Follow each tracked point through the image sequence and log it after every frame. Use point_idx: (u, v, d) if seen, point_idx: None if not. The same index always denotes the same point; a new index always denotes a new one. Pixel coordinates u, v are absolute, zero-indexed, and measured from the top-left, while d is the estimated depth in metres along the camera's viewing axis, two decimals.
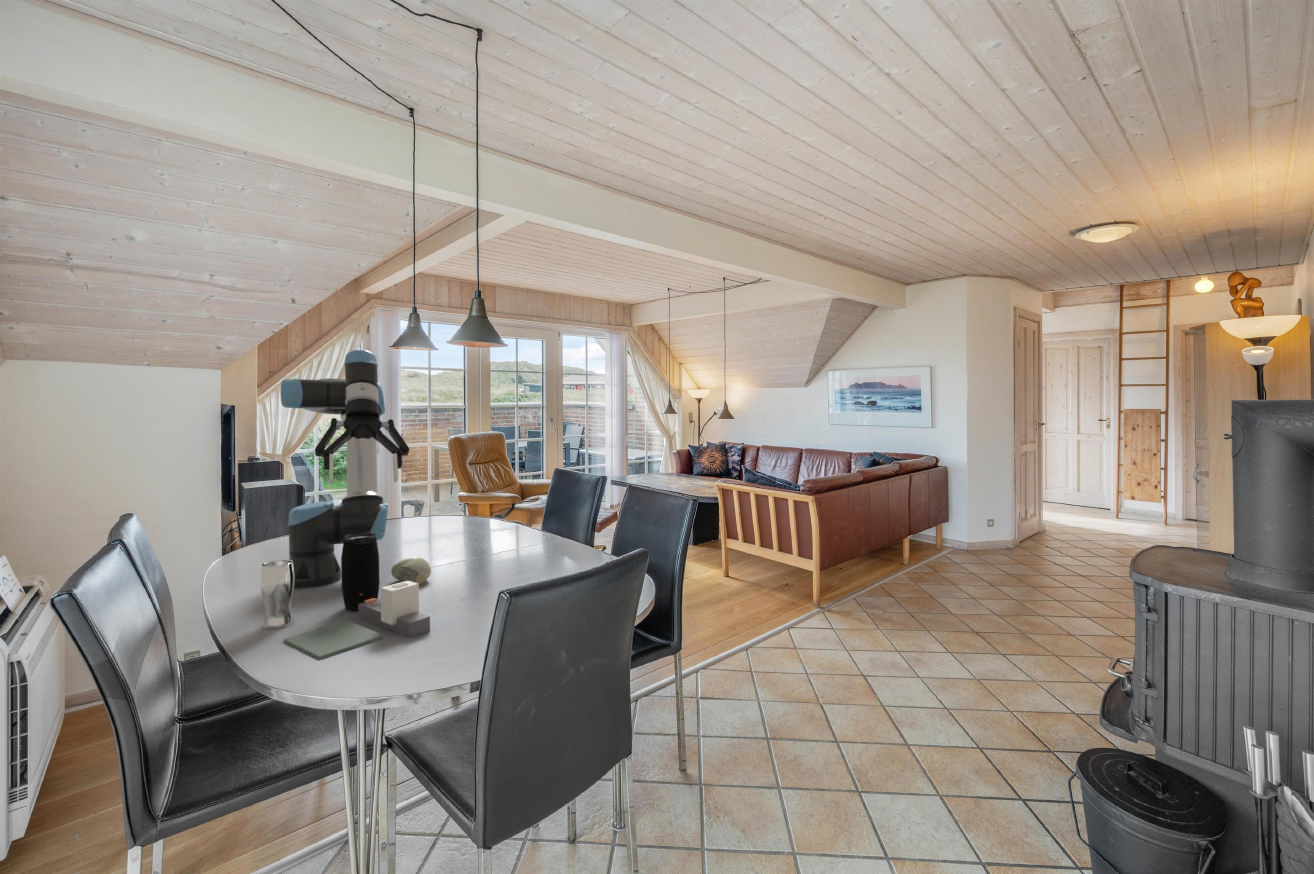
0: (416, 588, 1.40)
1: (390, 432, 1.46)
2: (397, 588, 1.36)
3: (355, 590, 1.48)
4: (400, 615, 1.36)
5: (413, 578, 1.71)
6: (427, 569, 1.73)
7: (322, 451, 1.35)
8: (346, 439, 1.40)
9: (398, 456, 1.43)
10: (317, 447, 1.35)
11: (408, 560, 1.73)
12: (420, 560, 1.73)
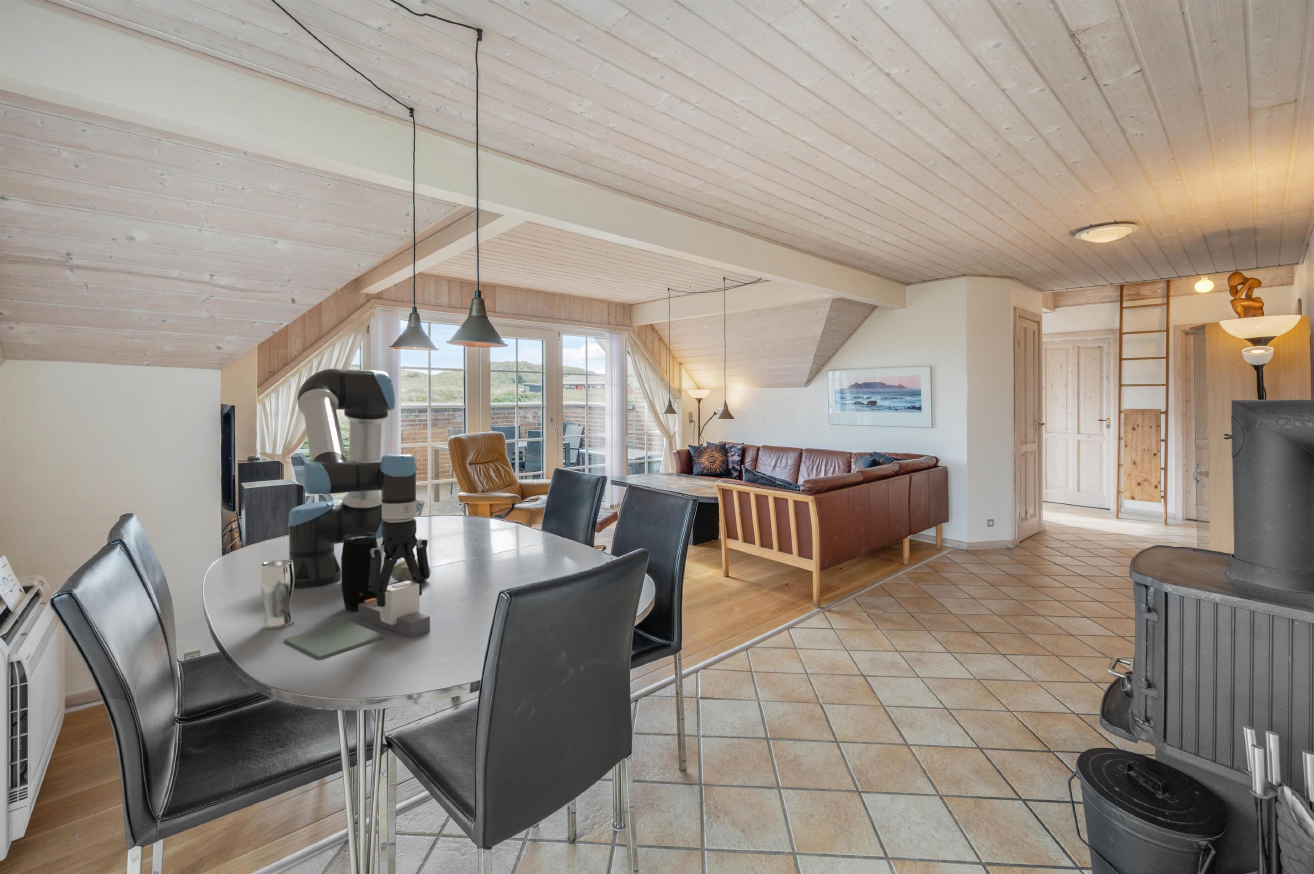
0: (416, 588, 1.40)
1: (419, 551, 1.42)
2: (397, 588, 1.36)
3: (355, 590, 1.48)
4: (400, 615, 1.36)
5: None
6: None
7: (378, 589, 1.33)
8: None
9: None
10: (375, 588, 1.32)
11: None
12: None
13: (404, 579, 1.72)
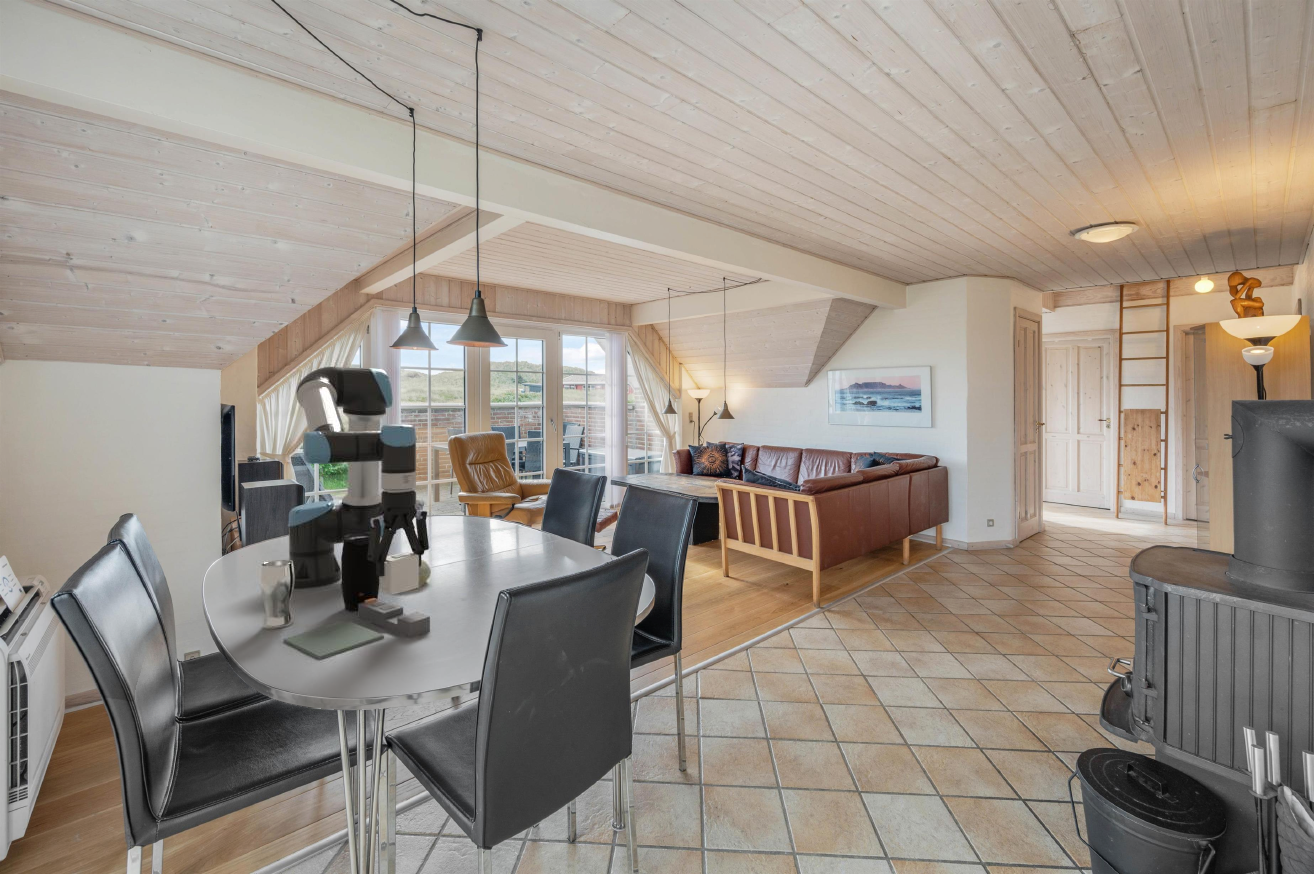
0: (416, 559, 1.40)
1: (418, 523, 1.42)
2: (396, 558, 1.36)
3: (355, 589, 1.48)
4: (399, 585, 1.36)
5: None
6: (427, 570, 1.72)
7: (378, 559, 1.33)
8: None
9: (418, 556, 1.42)
10: (374, 557, 1.32)
11: None
12: None
13: None
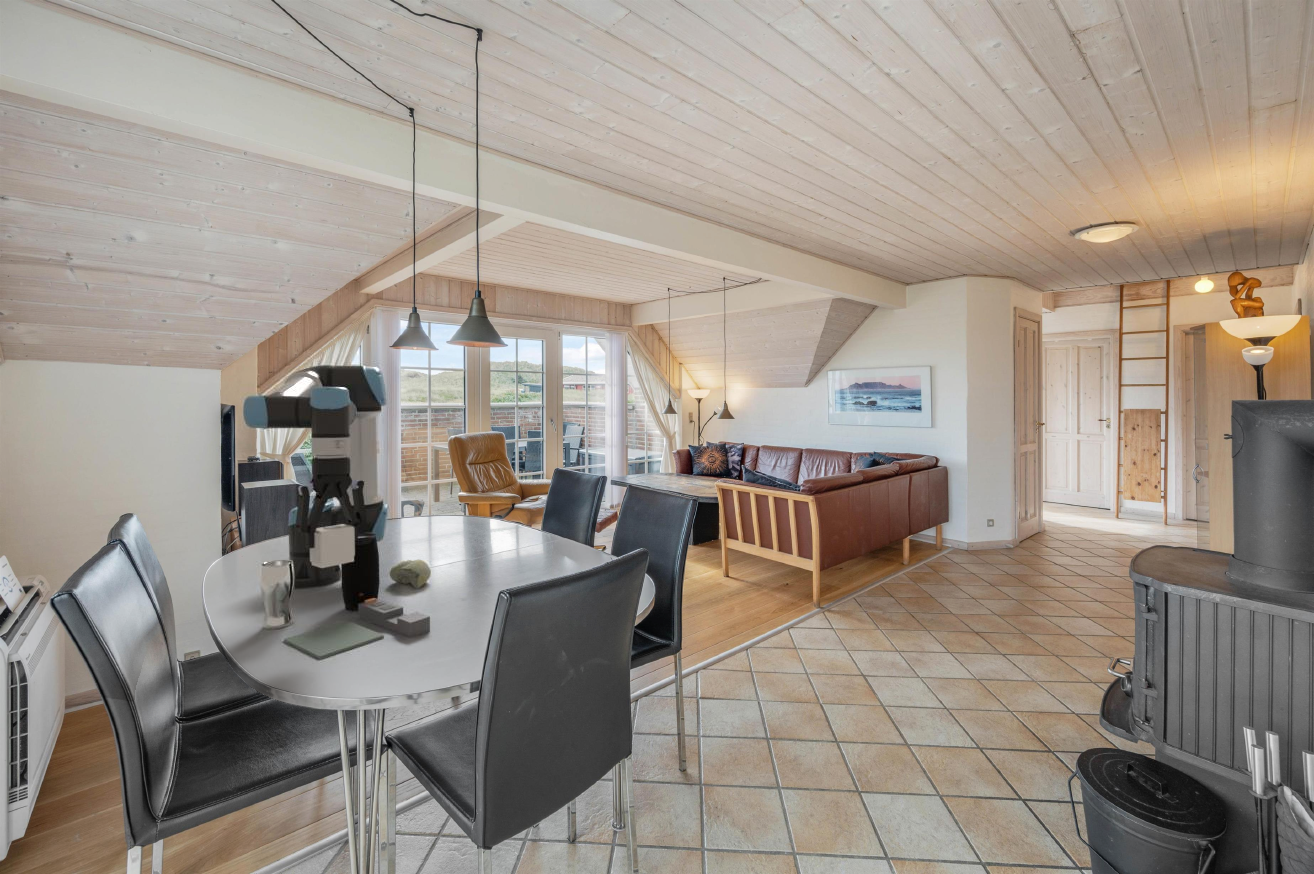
0: (351, 531, 1.31)
1: (355, 493, 1.34)
2: (328, 529, 1.27)
3: (355, 590, 1.48)
4: (331, 558, 1.28)
5: (414, 580, 1.69)
6: (427, 571, 1.71)
7: (307, 530, 1.25)
8: None
9: (354, 529, 1.33)
10: (302, 527, 1.23)
11: (407, 562, 1.71)
12: (420, 561, 1.72)
13: (404, 580, 1.71)
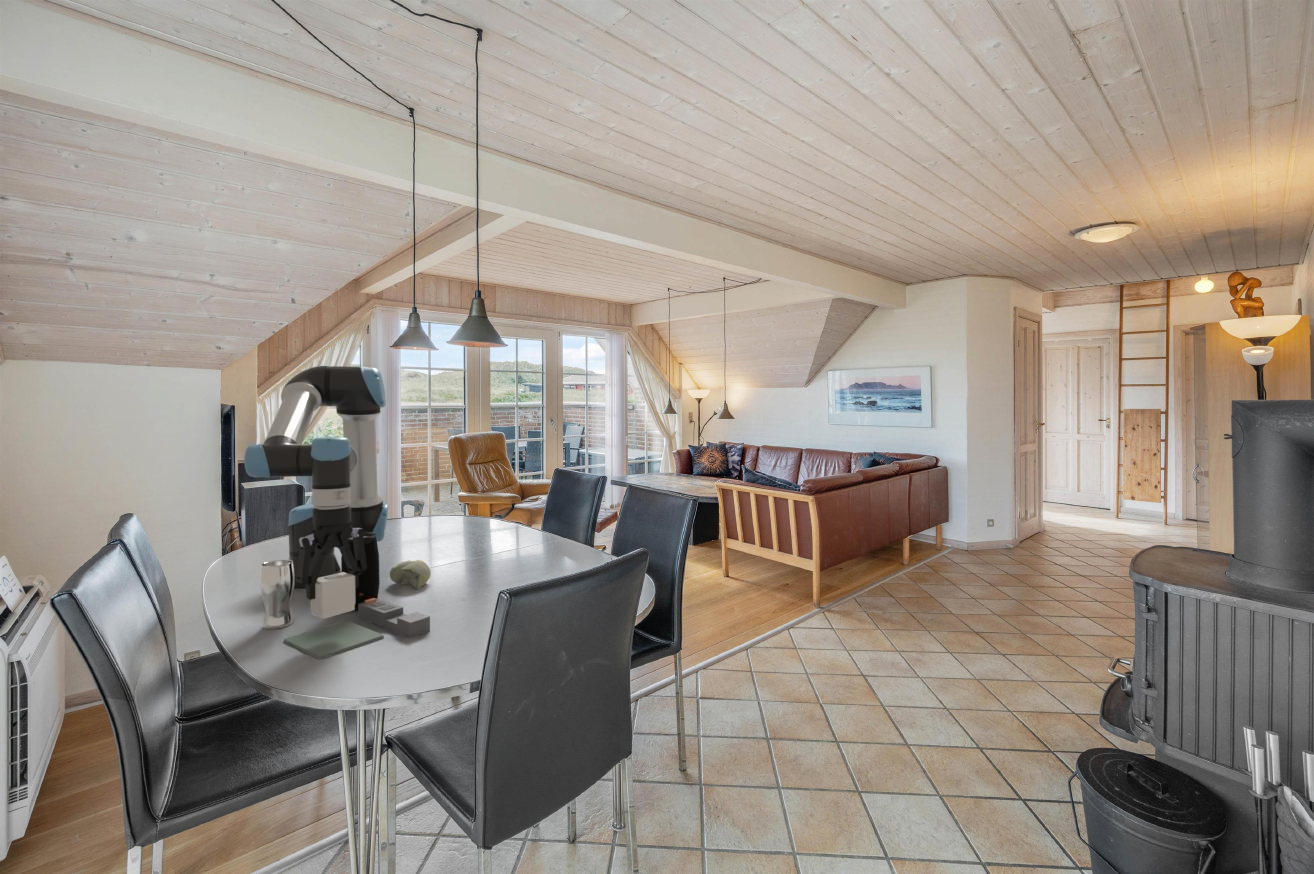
0: (351, 580, 1.31)
1: (355, 541, 1.34)
2: (329, 580, 1.28)
3: (355, 589, 1.48)
4: (332, 608, 1.28)
5: (414, 580, 1.68)
6: (428, 571, 1.71)
7: (307, 581, 1.25)
8: None
9: (354, 577, 1.34)
10: (303, 579, 1.24)
11: (407, 562, 1.70)
12: (420, 562, 1.71)
13: (404, 581, 1.70)
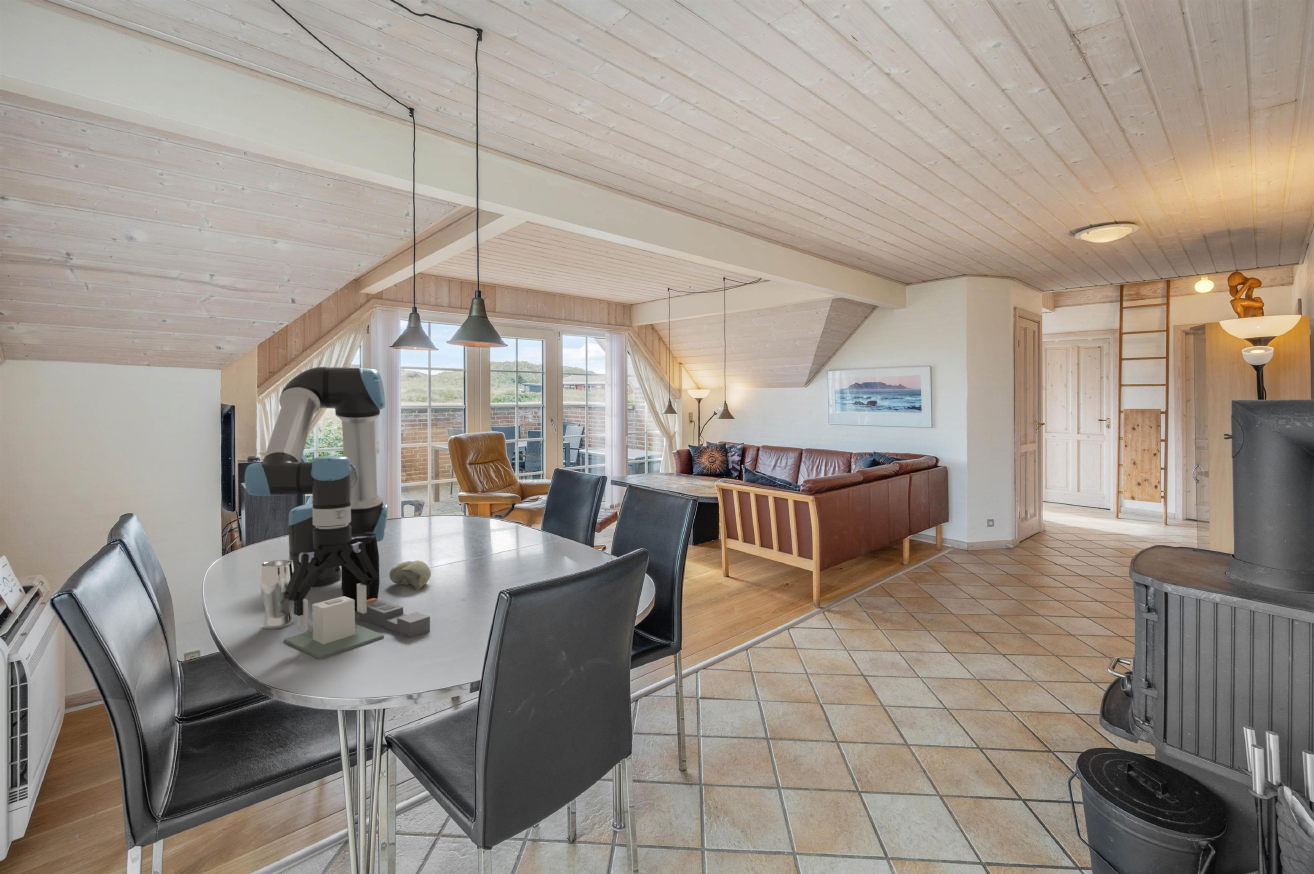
0: (352, 604, 1.32)
1: (359, 555, 1.35)
2: (329, 605, 1.28)
3: (355, 590, 1.48)
4: (333, 633, 1.28)
5: (414, 581, 1.68)
6: (428, 571, 1.70)
7: (295, 597, 1.23)
8: None
9: (365, 586, 1.36)
10: (291, 595, 1.22)
11: (407, 563, 1.70)
12: (420, 562, 1.71)
13: (404, 581, 1.69)
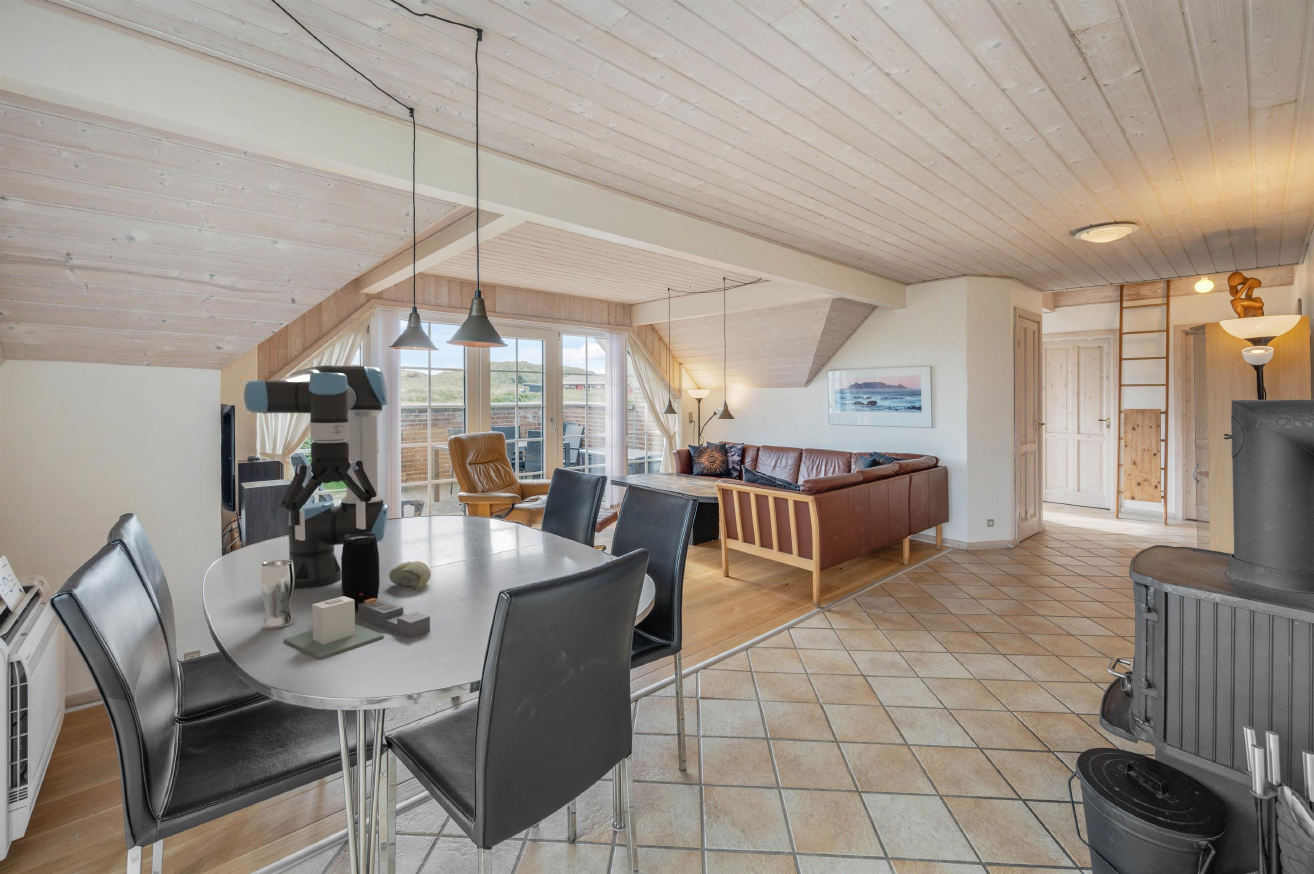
0: (352, 604, 1.32)
1: (357, 473, 1.37)
2: (329, 605, 1.28)
3: (355, 590, 1.48)
4: (333, 633, 1.28)
5: (415, 582, 1.67)
6: (428, 572, 1.70)
7: (292, 507, 1.25)
8: None
9: (364, 503, 1.38)
10: (288, 504, 1.24)
11: (408, 564, 1.69)
12: (420, 563, 1.70)
13: (404, 582, 1.69)
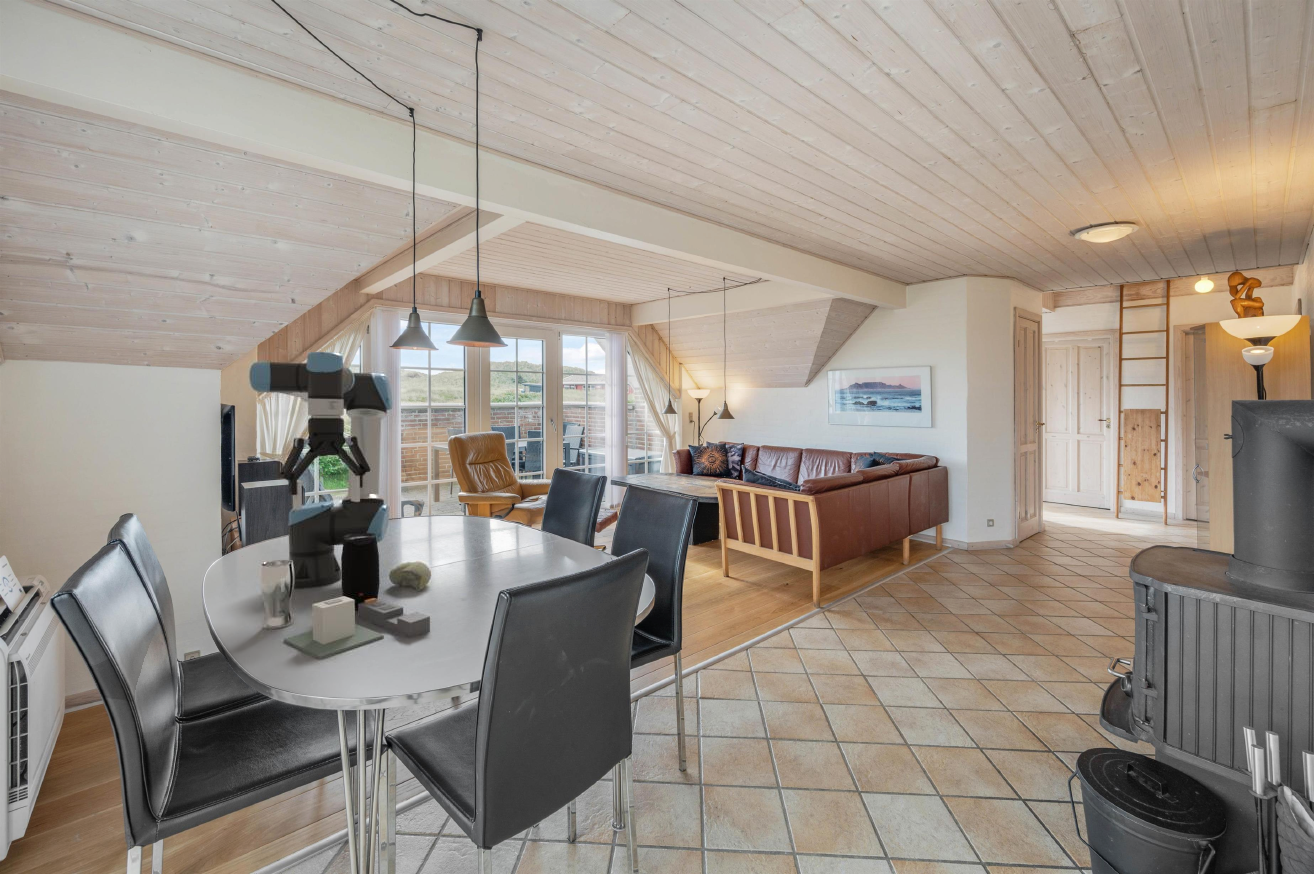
0: (352, 604, 1.32)
1: (352, 448, 1.45)
2: (329, 605, 1.28)
3: (355, 590, 1.48)
4: (333, 633, 1.28)
5: (415, 582, 1.67)
6: (429, 572, 1.69)
7: (289, 477, 1.32)
8: None
9: None
10: (286, 474, 1.31)
11: (408, 564, 1.69)
12: (421, 563, 1.70)
13: (404, 583, 1.68)
